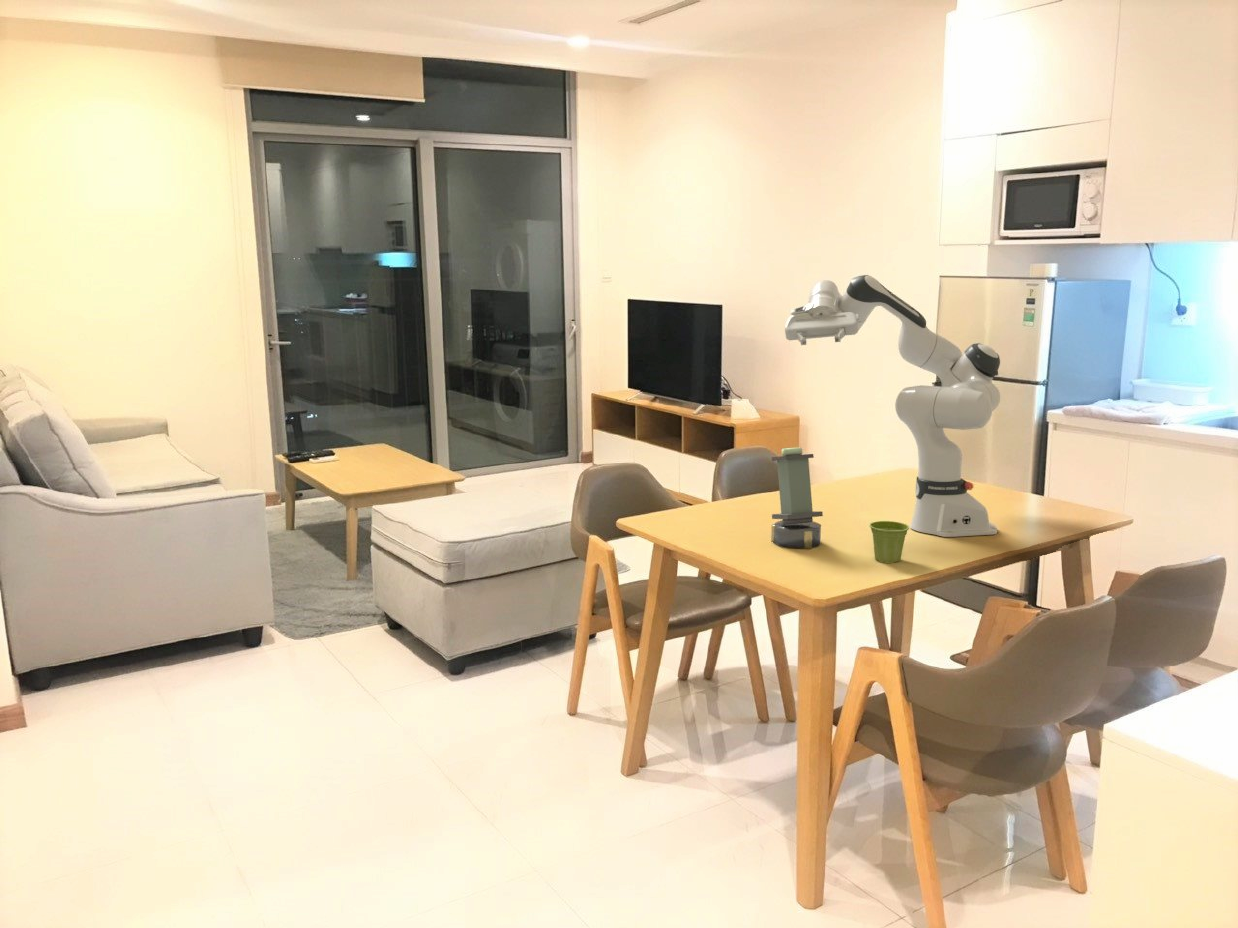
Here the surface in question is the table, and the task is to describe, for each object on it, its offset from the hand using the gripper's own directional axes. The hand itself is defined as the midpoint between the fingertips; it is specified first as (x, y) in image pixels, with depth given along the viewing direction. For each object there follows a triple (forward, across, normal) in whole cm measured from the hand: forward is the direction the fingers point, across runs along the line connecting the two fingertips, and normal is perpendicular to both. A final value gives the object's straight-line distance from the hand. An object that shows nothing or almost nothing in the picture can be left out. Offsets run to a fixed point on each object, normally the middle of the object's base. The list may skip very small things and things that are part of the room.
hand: (820, 341), depth 276 cm
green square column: (+46, +6, -26) cm, 53 cm away
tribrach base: (+49, +7, -31) cm, 58 cm away
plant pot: (+59, -16, -28) cm, 67 cm away
